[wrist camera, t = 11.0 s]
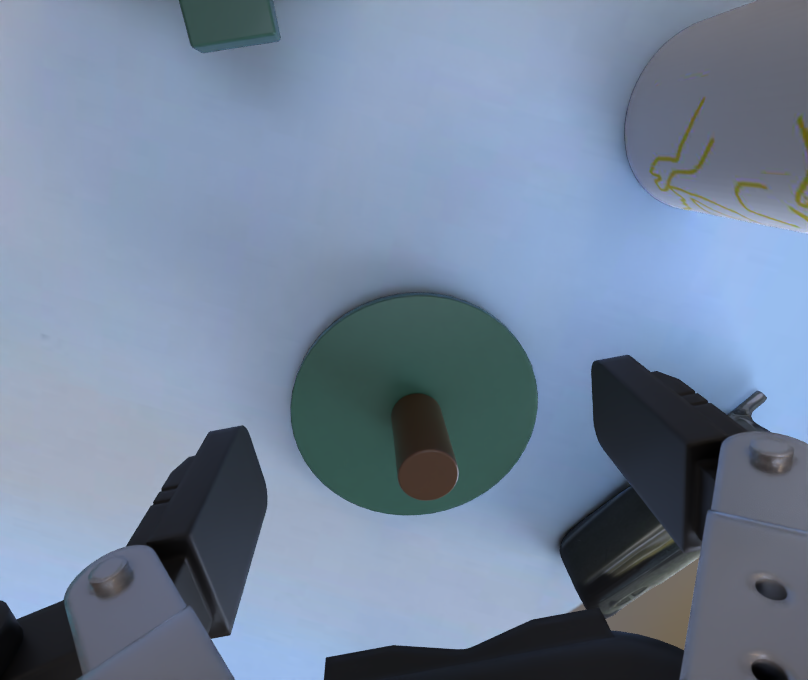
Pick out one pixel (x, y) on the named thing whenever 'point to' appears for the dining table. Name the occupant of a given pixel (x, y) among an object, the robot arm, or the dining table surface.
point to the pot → (229, 23)
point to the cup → (728, 117)
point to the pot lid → (413, 404)
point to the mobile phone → (629, 543)
